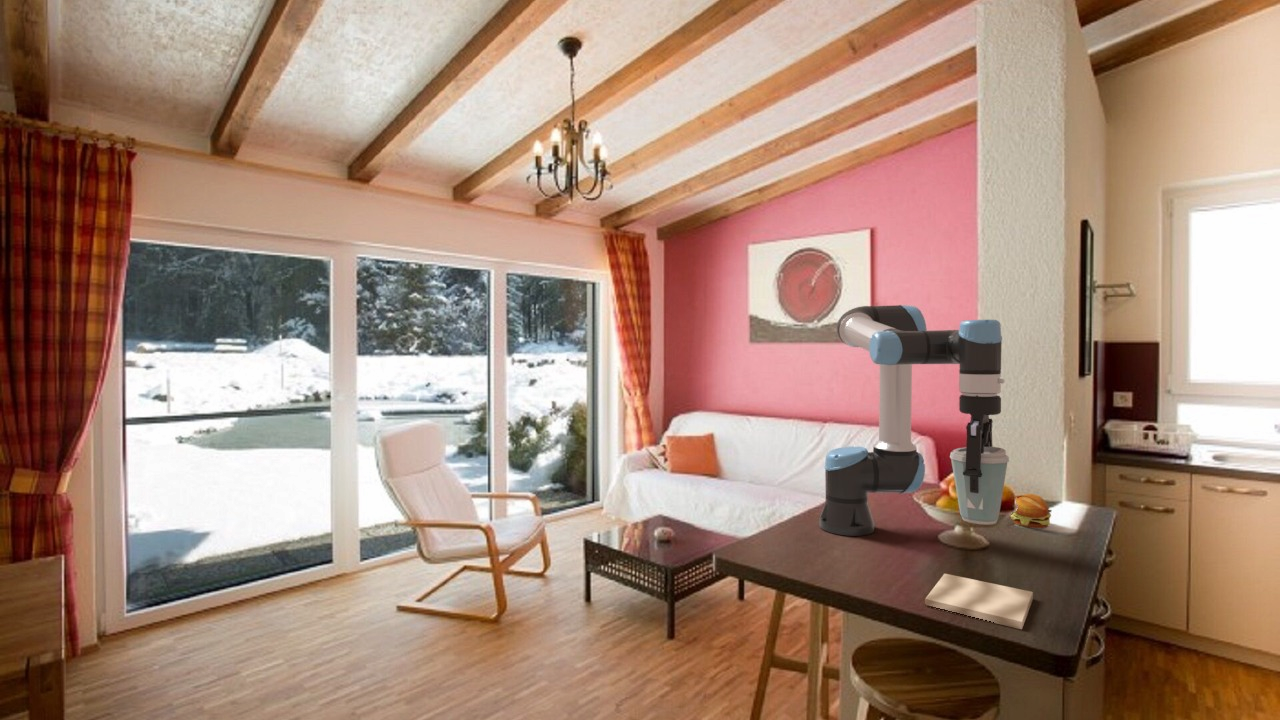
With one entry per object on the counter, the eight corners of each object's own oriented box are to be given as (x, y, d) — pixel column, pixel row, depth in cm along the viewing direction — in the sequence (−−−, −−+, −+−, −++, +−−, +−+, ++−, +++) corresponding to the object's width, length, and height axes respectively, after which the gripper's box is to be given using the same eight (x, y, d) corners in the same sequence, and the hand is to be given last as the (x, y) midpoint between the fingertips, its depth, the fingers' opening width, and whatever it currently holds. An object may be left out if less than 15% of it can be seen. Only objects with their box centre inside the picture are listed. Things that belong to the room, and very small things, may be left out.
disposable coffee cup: (964, 528, 120) (964, 452, 119) (940, 512, 130) (940, 443, 130) (1019, 528, 119) (1020, 452, 119) (990, 513, 130) (991, 443, 129)
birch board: (925, 605, 125) (925, 598, 125) (944, 579, 138) (944, 573, 138) (1021, 629, 114) (1021, 621, 114) (1032, 599, 127) (1032, 592, 127)
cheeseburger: (1050, 521, 180) (1051, 491, 178) (1051, 540, 171) (1053, 508, 169) (1010, 516, 185) (1011, 486, 183) (1010, 533, 177) (1010, 503, 174)
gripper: (991, 399, 114) (991, 518, 115) (1008, 391, 131) (1008, 495, 131) (947, 397, 119) (947, 511, 119) (970, 390, 135) (969, 490, 136)
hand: (979, 503), depth 125 cm, fingers open, 9 cm apart
